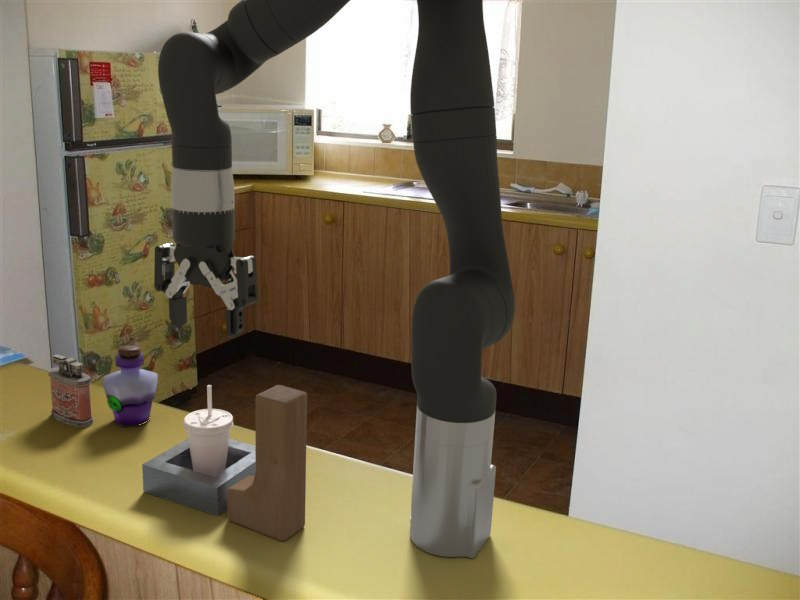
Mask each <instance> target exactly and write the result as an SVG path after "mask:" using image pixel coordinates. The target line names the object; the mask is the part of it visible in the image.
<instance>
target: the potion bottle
mask: <svg viewBox="0 0 800 600" xmlns="http://www.w3.org/2000/svg"><path fill="white" fill-rule="evenodd" d="M141 351H142V349H141V347H140V346H138V345H130V344H129V345H122V346H119V347H118V349H117V353H116V354H115V359H114V360H115V367H118V368H120V370H117V371H114V372H111V373H109V374H106V375H104V376H103V380H102V386H103V389H104V393H105V397H106V402H107V405H108V408H109V409H110V410H111V412H112V414H113V417H114V425H117V426H120V427H123V428H132V427H134V428H135V427H140V426H139V424H142V423H144V422H146V421H147V422H148V420H149V417H150V418H151V411H152V405H153V400H155V396H156V393H157V387H158V382H159V381H158V378H159V377H158V373H157V372H154V371H150V370H146V369H143V368H140V367H141V366H143V365H145V357H144V352H141ZM149 421H150V422H151V419H150V420H149ZM148 423H149V422H148ZM143 425H144V424H142V425H141V426H143Z"/></svg>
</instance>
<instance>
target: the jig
mask: <svg viewBox="0 0 800 600" xmlns="http://www.w3.org/2000/svg"><path fill="white" fill-rule="evenodd" d="M255 472H256V444H255V445H253V444H250V443H247V442H243V441H239V440H236V439H232V438H229V445H228V453H227V462H226V470H224V471H223V472H221V473H220V474H218V475H217V476H215V477H213V476H210V475H206V474H203V473H200V472H196V471H193V466H192V459H191V453H190V447H189V441H188V438H186V439H184V440H182V441H181V442H179V443H177V444H176V445H174V446H172V447H171V448H169V449H167V450H165V451H164V452H162V453H160V454H158V455H156V456H154V457H152V458H151V459H149V460H148V461H146V462H144V463H142V486H143V487H142V488H143V493H145V494H148V495H151V496H153V497H154V496H155V497H157V498H160V499H164V500H166V501H169V502H173V503H176V504H178V505H183V506H186V507H188V508H192V509H195V510H197V511H201V512H204V513H207V514H210V515H213V516H216V517H219V516H220V515H221V514H223V513H225V512H227V489H228V488H229V487H231V486H233V485H234V484H236V483H238V482H239V481H241V480H243V479H244V478H246V477H248V476H255Z"/></svg>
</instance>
